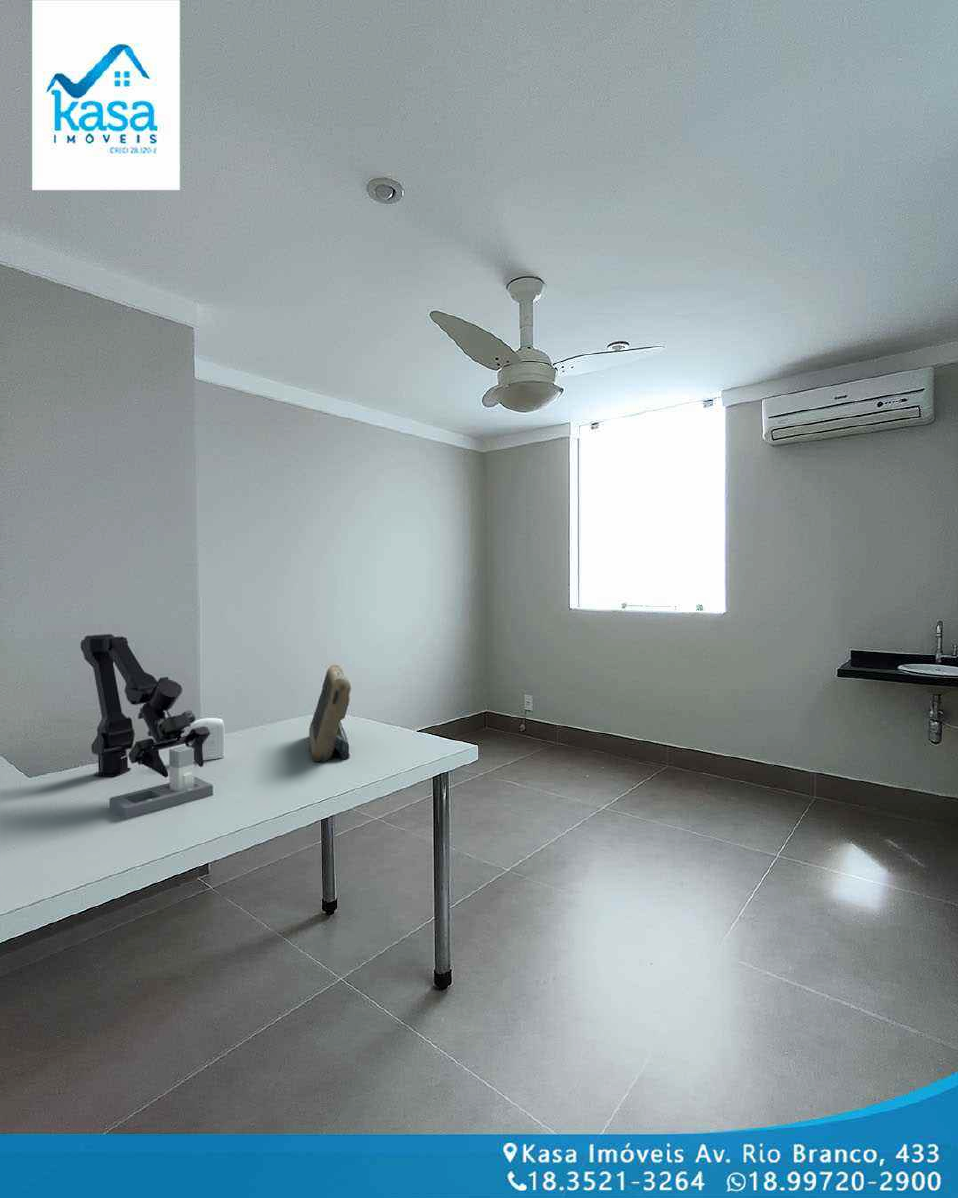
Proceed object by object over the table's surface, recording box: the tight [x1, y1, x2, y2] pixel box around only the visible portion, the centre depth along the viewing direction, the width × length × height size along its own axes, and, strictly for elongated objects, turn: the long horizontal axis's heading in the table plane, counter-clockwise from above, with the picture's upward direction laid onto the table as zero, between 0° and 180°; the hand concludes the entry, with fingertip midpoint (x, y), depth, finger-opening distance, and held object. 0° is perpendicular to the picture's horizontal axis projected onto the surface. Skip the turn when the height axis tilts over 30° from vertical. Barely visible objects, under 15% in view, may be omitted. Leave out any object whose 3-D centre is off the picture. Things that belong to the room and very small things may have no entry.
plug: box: [168, 745, 195, 792], centre depth 147 cm, size 5×4×12 cm
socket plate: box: [108, 776, 214, 820], centre depth 144 cm, size 10×20×3 cm, turn 141°
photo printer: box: [187, 717, 225, 763], centre depth 178 cm, size 10×4×12 cm, turn 123°
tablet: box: [308, 664, 352, 763], centre depth 191 cm, size 33×14×25 cm, turn 23°
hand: (185, 771), depth 147 cm, fingers open, 9 cm apart
